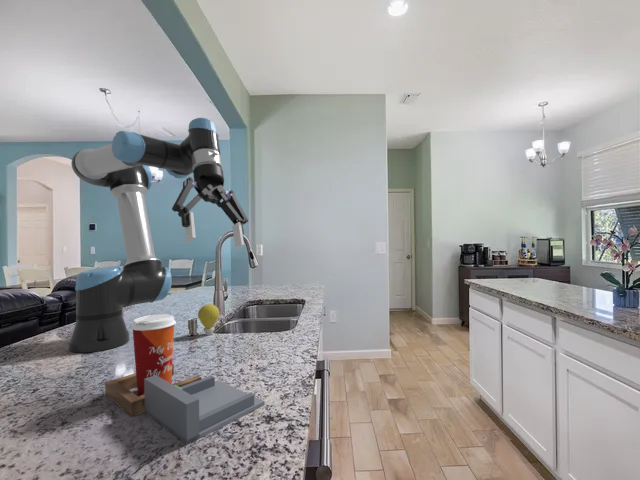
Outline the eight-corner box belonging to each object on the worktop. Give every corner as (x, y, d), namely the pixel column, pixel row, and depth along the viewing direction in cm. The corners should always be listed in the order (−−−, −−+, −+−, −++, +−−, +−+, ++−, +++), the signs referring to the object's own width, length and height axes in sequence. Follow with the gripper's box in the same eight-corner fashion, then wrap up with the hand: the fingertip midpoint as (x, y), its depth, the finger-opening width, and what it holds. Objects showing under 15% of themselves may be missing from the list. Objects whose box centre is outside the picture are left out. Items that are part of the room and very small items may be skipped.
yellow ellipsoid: (207, 338, 102) (206, 307, 102) (193, 335, 105) (193, 305, 105) (223, 333, 107) (223, 303, 108) (210, 330, 111) (210, 301, 111)
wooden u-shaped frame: (131, 416, 56) (131, 402, 56) (105, 394, 64) (105, 382, 64) (201, 389, 66) (201, 377, 66) (170, 372, 75) (170, 362, 75)
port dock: (187, 444, 48) (186, 404, 48) (144, 412, 57) (144, 378, 57) (264, 404, 59) (264, 372, 59) (218, 383, 69) (218, 355, 69)
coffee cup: (158, 403, 60) (157, 323, 61) (121, 399, 62) (120, 322, 62) (185, 383, 69) (184, 313, 69) (152, 381, 70) (151, 312, 70)
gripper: (168, 146, 73) (175, 229, 66) (253, 176, 93) (265, 244, 86) (153, 162, 78) (158, 242, 70) (237, 189, 97) (248, 254, 90)
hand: (217, 243), depth 78 cm, fingers open, 13 cm apart
